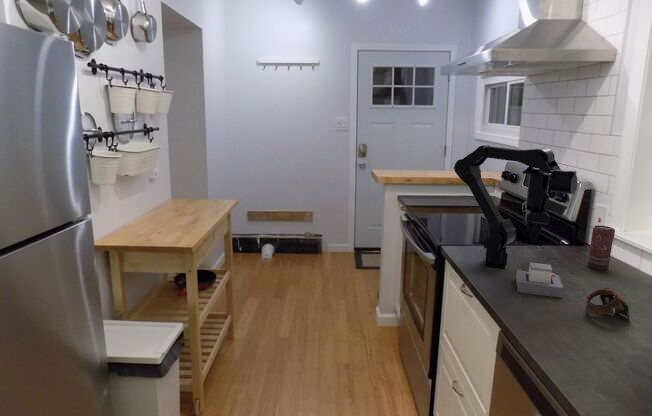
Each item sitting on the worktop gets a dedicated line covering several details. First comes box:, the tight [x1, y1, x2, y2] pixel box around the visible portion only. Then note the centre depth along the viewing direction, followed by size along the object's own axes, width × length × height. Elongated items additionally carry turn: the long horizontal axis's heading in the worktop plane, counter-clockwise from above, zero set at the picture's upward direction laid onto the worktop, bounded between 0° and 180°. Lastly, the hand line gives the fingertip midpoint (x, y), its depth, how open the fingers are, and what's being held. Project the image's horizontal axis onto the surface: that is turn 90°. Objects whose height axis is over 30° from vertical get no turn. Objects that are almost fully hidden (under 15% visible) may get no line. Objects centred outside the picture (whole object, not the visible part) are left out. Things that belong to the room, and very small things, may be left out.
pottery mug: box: [585, 287, 631, 323], centre depth 118 cm, size 12×10×8 cm
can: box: [587, 225, 616, 271], centre depth 152 cm, size 6×6×14 cm
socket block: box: [515, 269, 565, 299], centre depth 135 cm, size 12×10×4 cm
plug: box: [528, 262, 553, 284], centre depth 134 cm, size 6×4×7 cm
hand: (531, 237), depth 144 cm, fingers open, 9 cm apart
